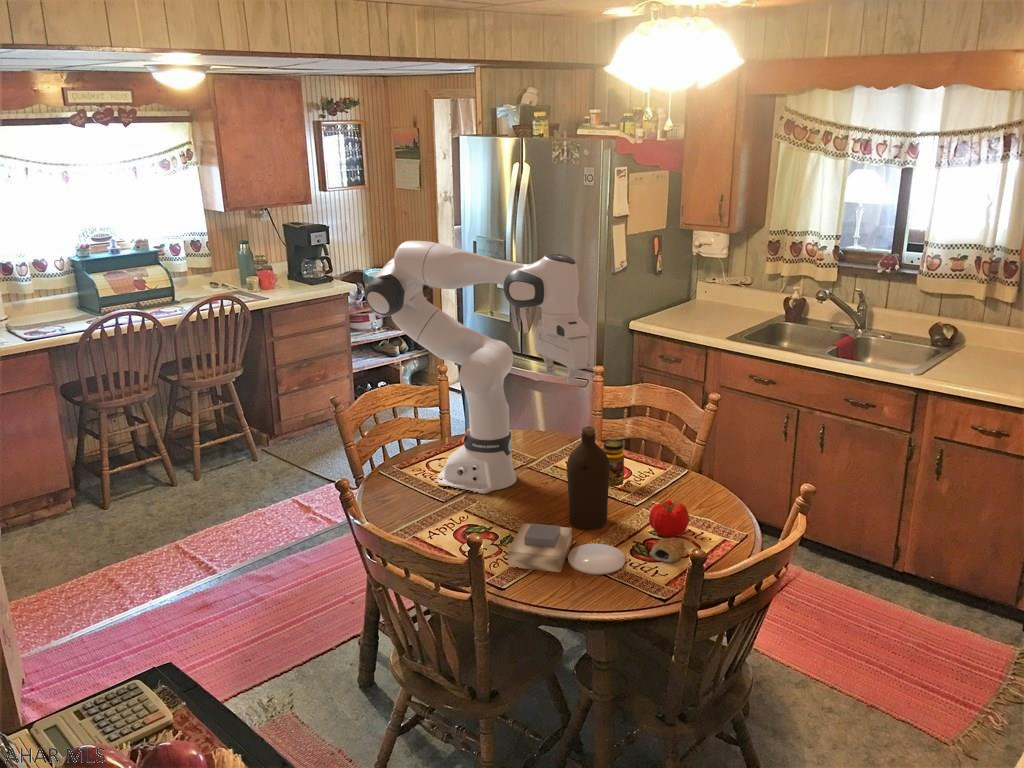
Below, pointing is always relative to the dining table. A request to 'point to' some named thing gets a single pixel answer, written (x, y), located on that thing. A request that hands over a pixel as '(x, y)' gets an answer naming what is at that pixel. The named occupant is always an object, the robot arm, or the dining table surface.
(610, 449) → the condiment
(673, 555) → the pastry
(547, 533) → the grey rounded eraser
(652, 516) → the tomato
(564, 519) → the dining table surface
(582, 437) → the olive oil
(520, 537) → the beige flat square block
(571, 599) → the dining table surface
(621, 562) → the plate
